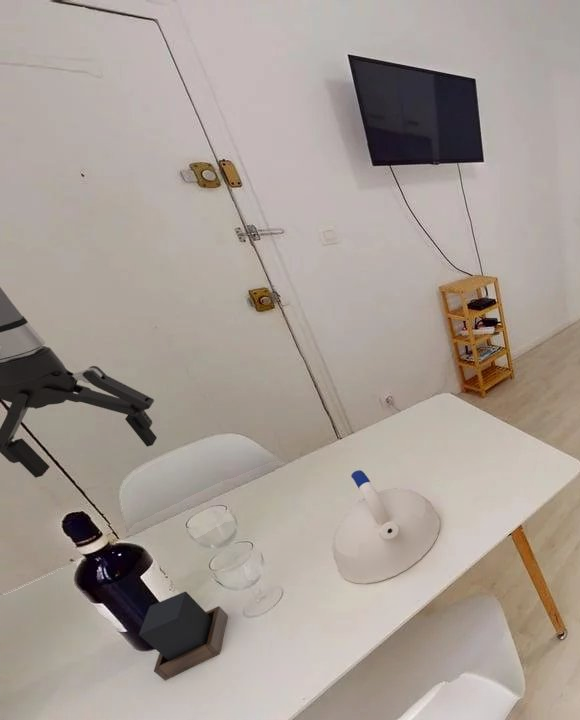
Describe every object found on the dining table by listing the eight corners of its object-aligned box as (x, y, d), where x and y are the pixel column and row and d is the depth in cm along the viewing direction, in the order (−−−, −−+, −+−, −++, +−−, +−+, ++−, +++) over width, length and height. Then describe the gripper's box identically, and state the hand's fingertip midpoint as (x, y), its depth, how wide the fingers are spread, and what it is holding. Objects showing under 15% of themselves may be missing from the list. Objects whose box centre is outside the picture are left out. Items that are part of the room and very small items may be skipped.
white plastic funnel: (354, 607, 78) (315, 545, 69) (326, 542, 91) (291, 484, 82) (456, 539, 91) (435, 480, 82) (419, 491, 103) (397, 435, 94)
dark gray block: (175, 666, 69) (138, 634, 64) (183, 638, 73) (149, 606, 68) (210, 650, 71) (177, 618, 67) (216, 623, 75) (186, 590, 71)
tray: (164, 680, 68) (153, 671, 66) (177, 638, 74) (167, 628, 72) (219, 653, 71) (210, 644, 70) (228, 615, 77) (219, 605, 76)
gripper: (-151, 390, 55) (-23, 500, 66) (115, 341, 67) (187, 441, 78) (-108, 368, 61) (4, 473, 71) (131, 326, 73) (196, 421, 83)
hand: (100, 456), depth 74 cm, fingers open, 13 cm apart
